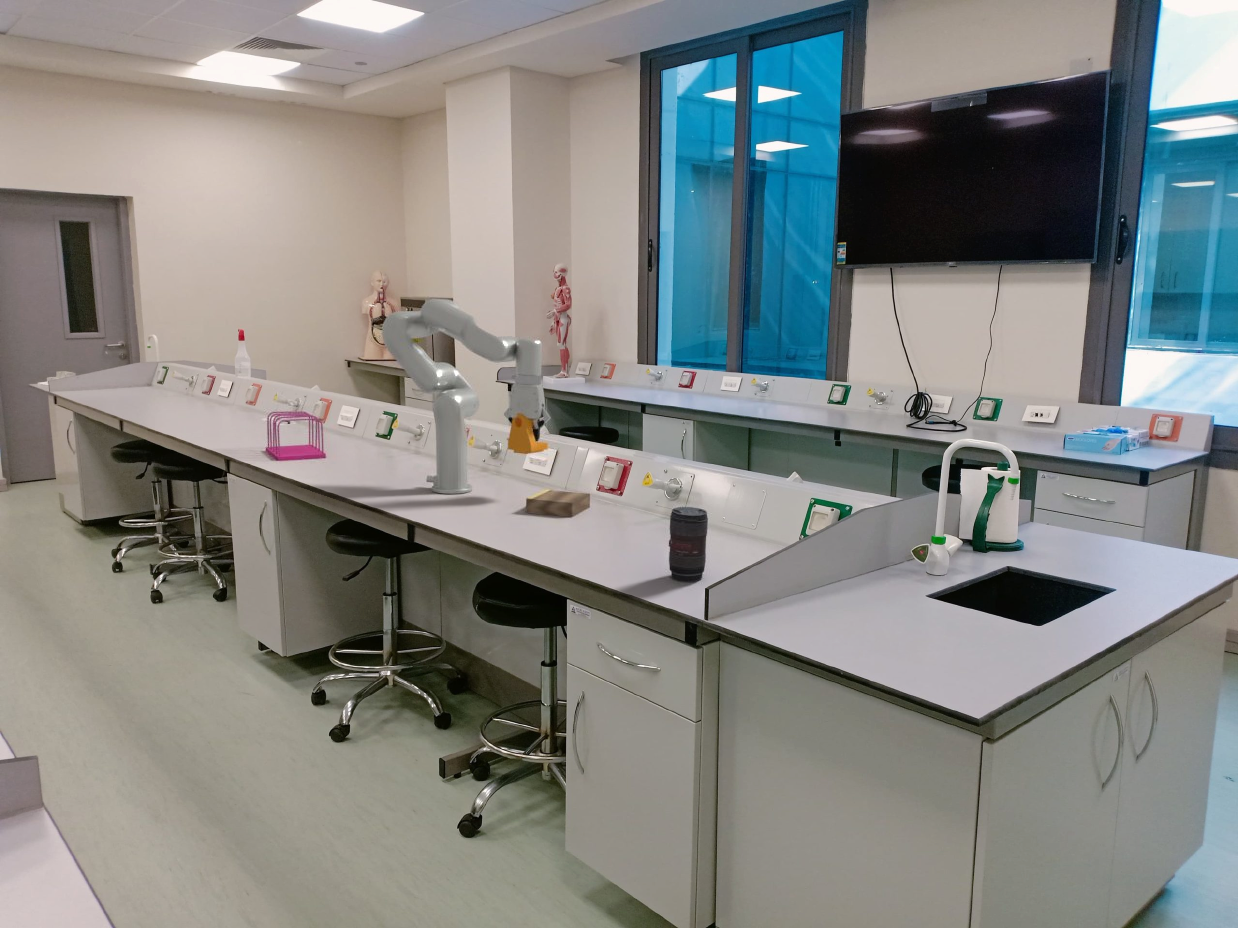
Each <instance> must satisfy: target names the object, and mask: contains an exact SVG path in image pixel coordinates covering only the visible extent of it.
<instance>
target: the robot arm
mask: <svg viewBox="0 0 1238 928" xmlns="http://www.w3.org/2000/svg"><path fill="white" fill-rule="evenodd" d="M381 330H382V331H381V333H382V334H381V335H382V341H383V344H384V346H385V348H386V349H387V351H388V352H389V353H390V355H391V356H392V357H393V358H394V359H395V360H396V362H398V364H399V365H400V366H401V368H403V370H404V371H405V372H406V374H407V375H408V376H409V378H411V380H412V382H414V384H415V385H416V386H417V387H418V388H419V390H420V391H421V392H423V393H425V394H429V395H433V394H434V395H435V394H437V395H436V397H435V398H434V399H433V403H432V412H433V418H434V424H435V445H436V447H435V449H436V450H435V451H436V453H435V455H436V458H435V459H436V462H435V463H436V464H435V465H436V475H435V474H434V475H430V474H428V475H427V476H426V479H425V480H426V483H433V485H432V486H431V492H434V493H436V494H437V493H438V494H445V495H447V494H448V495H449V494H451V495H453V494H454V495H455V494H465V493H469V492H471V491H473V486H472V485H471V484H469V483H468V431H467V426H466V422H465V419H467V418H470V417H473V416H474V415H475V414H476V413H477V412H478V411H479V408H480V399H479V396H478V394H477V393H476V391H475V389H474V388H473V386H471V385H470V383H468V381H467V380H466V379H465V377H464V376H463V375H462V374H461V373H460V371H459V370H458V369H457V368H455V366H454V365H452V364H451V363H448V362H441V361H440V362H435V361H434V360H433V359H431V357H430V356H429V355H428V354H427V353H426V351H425V350H424V349H423V348H422V347H421V346H420V345H419V344H418V343H416V342H415V341H414V340H413V339H420V338H421V339H422V338H426V337H429V336H432V335H435V334H436V333H439V332H441V333H442V334H445V335H447V336H449V337H451V338H453V339H455V340H456V341H458V342H460V343H461V344H462V345H463V346H464V347H465V348H466V349H468V351H470V352H472V353H474V354H475V355H476V356H479V357H481V358H483V359H485V360H487V361H488V362H492V363H497V364H498V363H509V362H516V363H515V373H514V374H513V375H512V376H511V380H512V381H514V384H512V386H511V391H510V397H509V402H508V403H509V404H508V405H509V407H508V408H507V409H506V410H505V411H504V413H503V415H504V417H505V418H507V421H509V423H510V424H511V425H512V420H513V417H514V418H516V417H517V413H520V414H523V415H524V416H525V417H526V418H527V419H532V420H533V423H534V429H532V430H533V434H534V437H535V441H536V442H539V440H540V437H541V428H542V427H543V426H544V425H545V424H546V423H547V422H549V420H551V418H552V417H551V416H550V414H549V413H548V411H547V410H546V408H545V407H546V404H545V402H546V401H545V394H544V393H545V392H544V387H543V385H542V360H543V357H542V355H543V344H542V341H541V340H540V339H537V338H520V337H519V338H518V337H516V336H495V335H493V334H492V333H490V332H488V331H486V330H484V329H482V328H481V327H479V326H478V325H477V320H476V318H475V316H473V315H471V314H470V313H468V312H467V313H466V312H465V311H463V310H461V308H460V306H459V304H457V303H456V302H455V301H453V300H451V299H444V298H443V299H442V298H432V299H429V300H427V301H426V302H424V303H423V305H422V306H421V308H420V310H416V311H412V310H411V311H410V310H407V311H406V310H399V311H394V312H392V313H390V314H388V316H386V317H385V320H384V321H383V324H382V328H381ZM517 418H519V417H517ZM542 418H543V419H542Z"/></svg>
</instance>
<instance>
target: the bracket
mask: <svg viewBox="0 0 1238 928" xmlns="http://www.w3.org/2000/svg"><path fill="white" fill-rule="evenodd" d="M517 417H519V418H517ZM517 417H516V418H514V417H513V420H512V424H511V426H510V431H509V436H508V441H507V449H508V450H511V451H513V454H514V453H515V454H523V455H529V454H533V453H540V452H544V451H545V450H549V443H548V442H543V441H535V437H534V434H533V429H534V423H533V420H532V419H527V418H526V417H525V416H524V415H523V414H520V413H517Z"/></svg>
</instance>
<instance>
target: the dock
mask: <svg viewBox="0 0 1238 928" xmlns="http://www.w3.org/2000/svg"><path fill="white" fill-rule="evenodd" d="M525 502H526V503H525V504H526V505H525V513H528V514H529V513H530V514H536V515H537V514H538V515H539V514H540V515H549V516H557V517H558V516H559V517H568V518H574V517H575V516H577V515H579V514H580V513H582V512H584V511H585V510H587V509H590V507H591V493H587V492H583V493H582V492H573V491H563V490H552V489H546V488H545V489H543V490H541V491H539V492H536V493H534V494H532V495H530V496H527V497H526V499H525Z"/></svg>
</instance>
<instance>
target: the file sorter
mask: <svg viewBox="0 0 1238 928" xmlns="http://www.w3.org/2000/svg"><path fill="white" fill-rule="evenodd" d="M273 417H274V418H273ZM292 418H293V419H292ZM272 419H273V420H272ZM280 419H282V420H281V421H279V420H280ZM278 421H279V422H278ZM290 421H291V422H292V421H308V444H300V445H299V444H298V445H296V444H295V445H281V442H280V440H281V439H280V425H281V424H282V423H283V422H290ZM314 421H315V431H314ZM266 422H267V425H266V426H267V427H266V429H267V446H265V452H266V453H267V454H269V456H271V457H272V458H273V459H274V460H276V461H277V462H283V461H295V460H309V459H313V460H314V459H325V458H327V454H326V452H325V450H324V449H325V447H324V427H323V426H324V425H323V422H322V420H321V419H319V418H318V417H317V416H315V415H313V414H310V413H308V412H307V411H297V410H296V411H291V410H290V411H288V410H287V411H271V412H270V413H269V414H268V415H267V417H266ZM277 422H278V424H277ZM320 429H321V430H320ZM314 432H315V433H314ZM320 433H321V434H320ZM314 434H315V435H314ZM314 438H315V439H314ZM314 440H315V442H314ZM314 444H315V445H314Z"/></svg>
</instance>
